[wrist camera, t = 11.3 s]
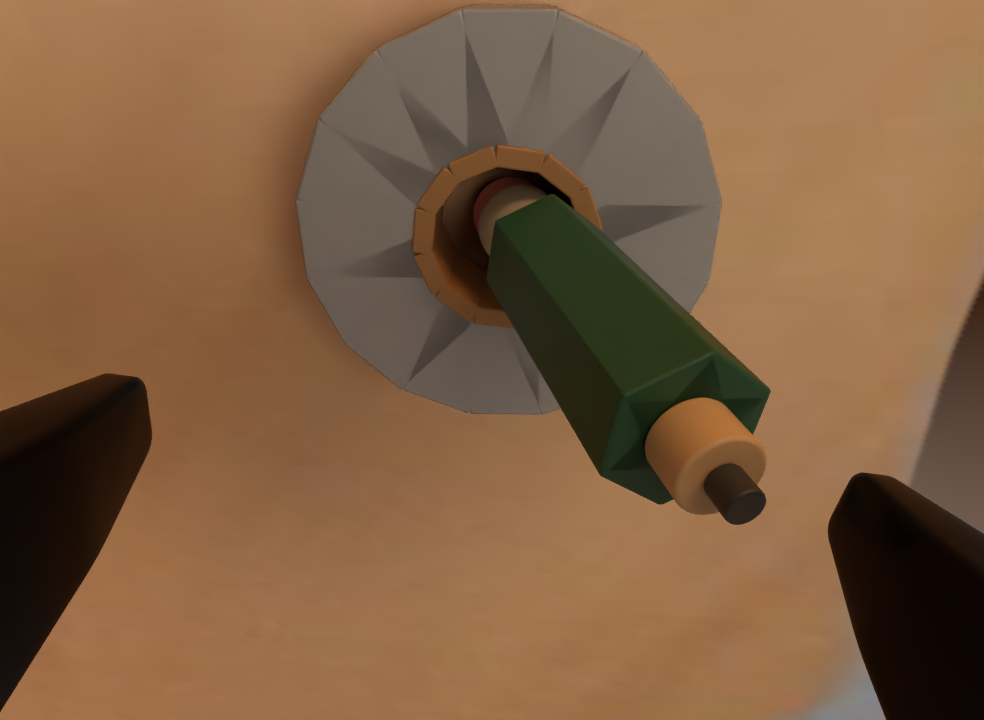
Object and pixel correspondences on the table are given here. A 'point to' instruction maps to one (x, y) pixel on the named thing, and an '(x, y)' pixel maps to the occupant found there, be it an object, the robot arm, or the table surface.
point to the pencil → (624, 357)
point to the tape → (475, 150)
